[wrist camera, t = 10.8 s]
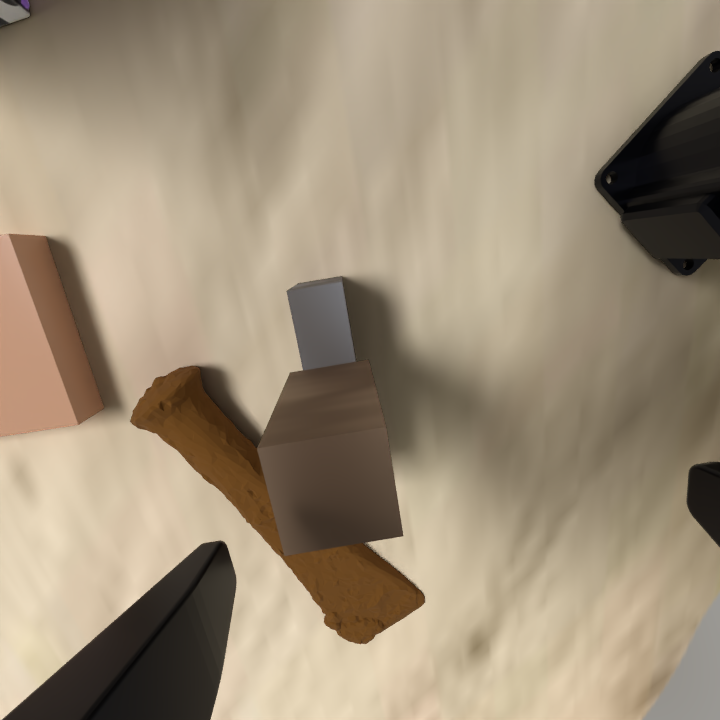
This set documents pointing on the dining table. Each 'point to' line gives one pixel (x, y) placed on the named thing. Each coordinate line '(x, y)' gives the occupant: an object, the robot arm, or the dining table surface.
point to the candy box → (13, 11)
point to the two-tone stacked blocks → (328, 436)
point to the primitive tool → (250, 496)
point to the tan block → (39, 344)
